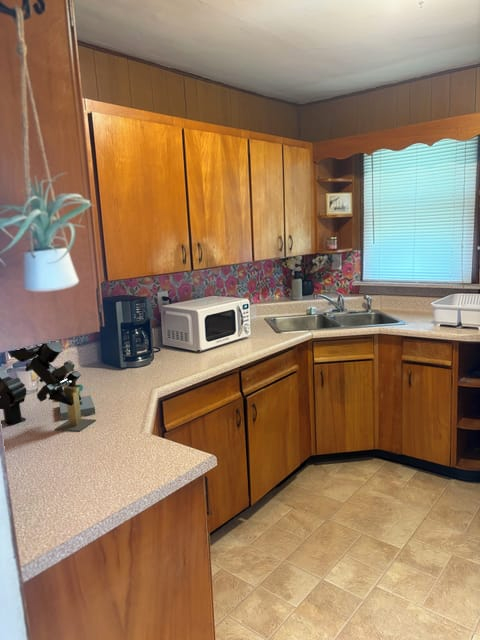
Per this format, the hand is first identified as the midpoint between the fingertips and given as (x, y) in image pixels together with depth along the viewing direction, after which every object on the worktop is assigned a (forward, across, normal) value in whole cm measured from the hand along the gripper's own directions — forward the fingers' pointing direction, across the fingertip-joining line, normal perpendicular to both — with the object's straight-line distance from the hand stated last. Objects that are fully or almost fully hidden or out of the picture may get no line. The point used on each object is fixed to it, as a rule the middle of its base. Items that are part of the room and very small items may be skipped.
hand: (76, 402), depth 167 cm
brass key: (+5, 0, +7) cm, 8 cm away
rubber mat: (+5, 0, +7) cm, 9 cm away
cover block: (-1, +14, +13) cm, 19 cm away
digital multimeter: (-11, +30, +24) cm, 40 cm away
